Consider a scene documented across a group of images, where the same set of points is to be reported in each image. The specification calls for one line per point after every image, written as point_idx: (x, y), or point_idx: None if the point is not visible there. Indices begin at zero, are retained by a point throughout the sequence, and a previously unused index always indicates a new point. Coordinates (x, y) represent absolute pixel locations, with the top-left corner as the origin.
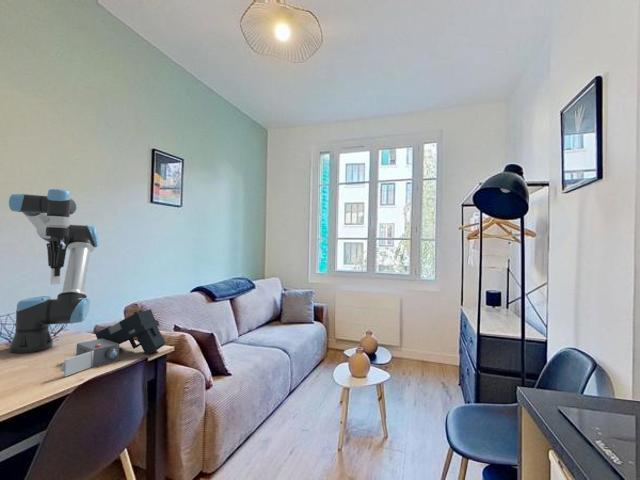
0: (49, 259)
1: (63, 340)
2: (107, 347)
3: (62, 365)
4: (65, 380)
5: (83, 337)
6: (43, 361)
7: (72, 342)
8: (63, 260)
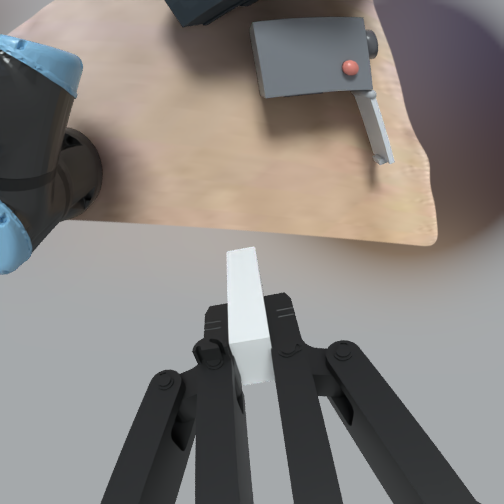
0: (185, 463)
1: None
2: (367, 51)
3: (381, 163)
4: None
5: None
6: (209, 158)
7: None
8: (394, 400)
